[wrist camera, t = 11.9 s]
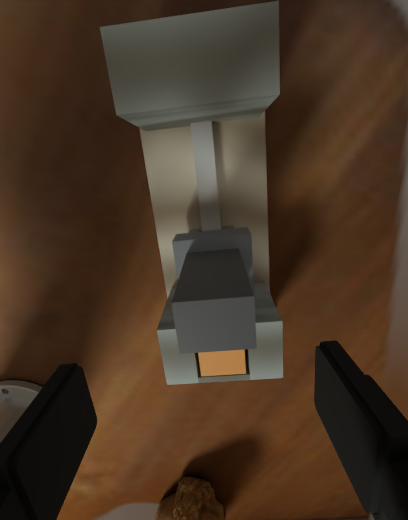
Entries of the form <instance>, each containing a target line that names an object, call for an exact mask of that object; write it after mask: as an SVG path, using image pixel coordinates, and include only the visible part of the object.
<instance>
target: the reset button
mask: <svg viewBox="0 0 408 520" xmlns="http://www.w3.org/2000/svg"><path fill="white" fill-rule="evenodd" d="M198 356H199V363H200V371H201V376H216V375H232V374H246V365H245V350H230V351H215V352H200V353H198Z"/></svg>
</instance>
